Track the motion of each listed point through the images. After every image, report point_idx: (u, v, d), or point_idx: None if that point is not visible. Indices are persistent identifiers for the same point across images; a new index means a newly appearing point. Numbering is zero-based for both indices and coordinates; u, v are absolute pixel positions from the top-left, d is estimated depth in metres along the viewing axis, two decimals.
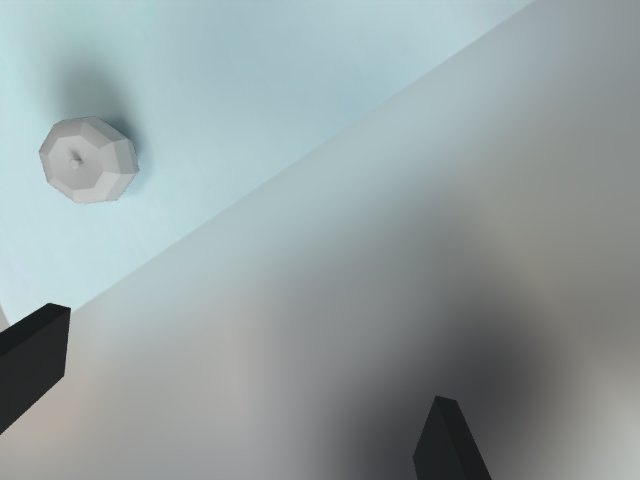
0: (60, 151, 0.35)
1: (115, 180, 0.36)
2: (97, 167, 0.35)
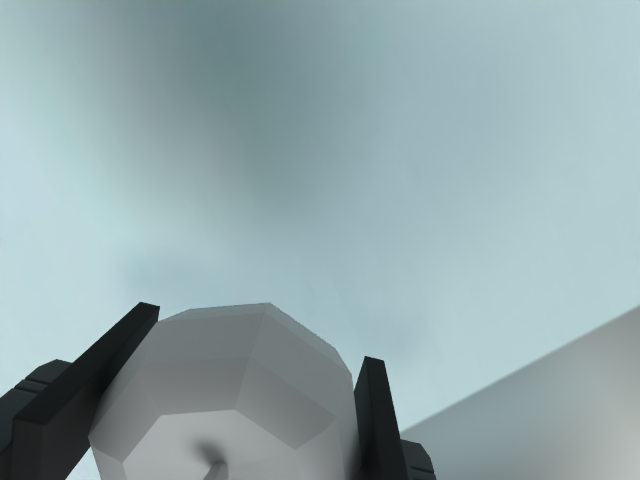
0: (162, 449, 0.11)
1: None
2: None
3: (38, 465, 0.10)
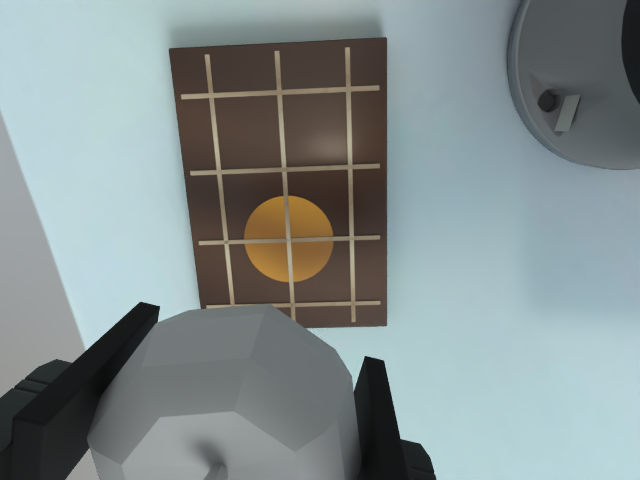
0: (160, 451, 0.10)
1: None
2: None
3: (38, 465, 0.10)
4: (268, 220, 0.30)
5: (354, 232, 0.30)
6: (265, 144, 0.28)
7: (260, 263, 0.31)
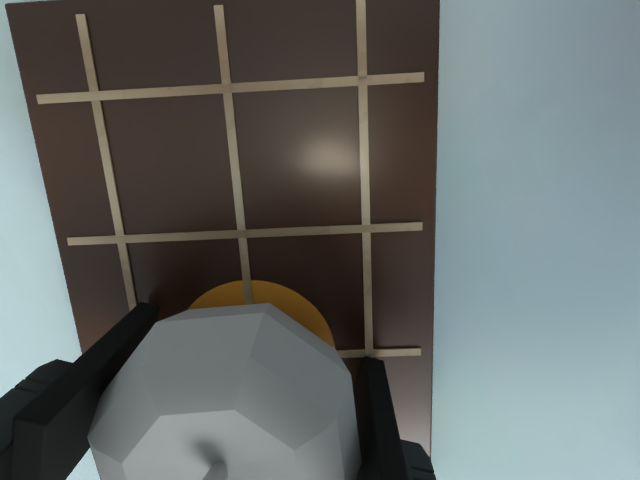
0: (161, 449, 0.10)
1: None
2: None
3: (39, 465, 0.10)
4: None
5: (374, 343, 0.16)
6: (204, 188, 0.15)
7: None
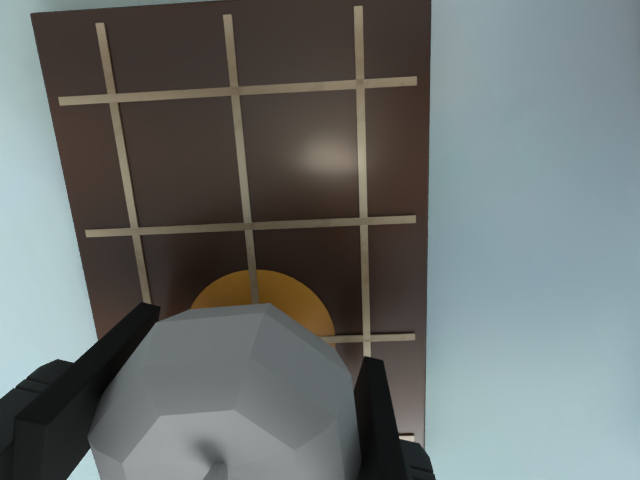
0: (161, 449, 0.10)
1: None
2: None
3: (40, 465, 0.10)
4: None
5: (371, 329, 0.17)
6: (213, 183, 0.16)
7: None
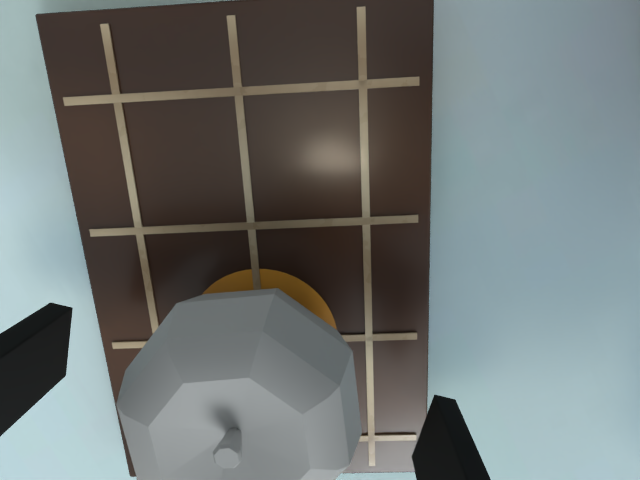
0: (183, 414, 0.12)
1: (334, 479, 0.13)
2: (289, 456, 0.12)
3: None
4: None
5: (373, 328, 0.18)
6: (217, 183, 0.16)
7: None
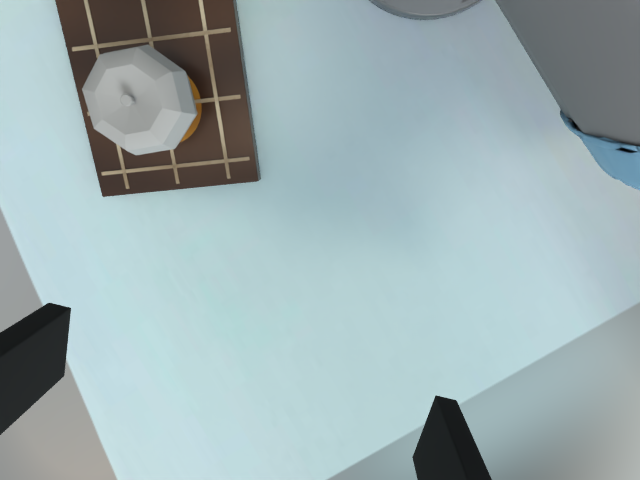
0: (108, 87, 0.29)
1: (176, 119, 0.29)
2: (154, 104, 0.29)
3: None
4: None
5: (218, 93, 0.34)
6: (131, 17, 0.33)
7: None
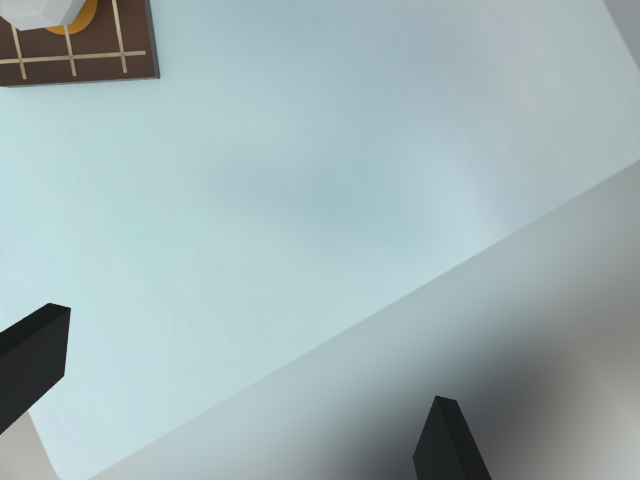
0: None
1: None
2: None
3: None
4: None
5: None
6: None
7: None
